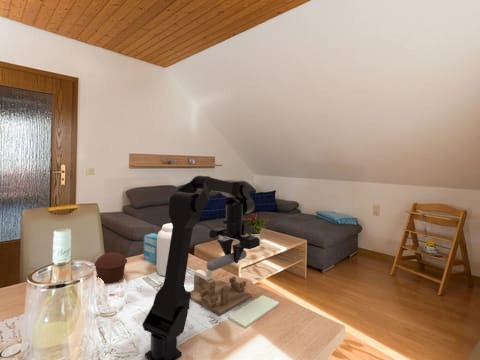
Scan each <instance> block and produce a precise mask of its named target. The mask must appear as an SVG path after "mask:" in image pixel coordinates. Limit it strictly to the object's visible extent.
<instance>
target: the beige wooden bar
mask: <svg viewBox="0 0 480 360" xmlns="http://www.w3.org/2000/svg"><path fill="white" fill-rule="evenodd" d="M194 275H197V276H199V277H201V278H203V279H205V280H210V279H213V271H209V270H208V269H207V268H206V269H205V271H204V270H201V269H197V270H194Z"/></svg>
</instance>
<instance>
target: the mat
mask: <svg viewBox="0 0 480 360" xmlns="http://www.w3.org/2000/svg"><path fill="white" fill-rule="evenodd" d="M279 305H280V302H279V301H277V300H274V299H272V298H270V297H268V296H265V295H264V294H263V295H261V296H259V297H258V298H255V299H254V300H252V301H250V302H249V303H248V304H246V305H244V306H243V307H241V308H239V309H238V310H235V311H234V312H232V313H231V314H229V315H228V316H227V319H228V320H230V321H232V322H233V323H235V324H237V325H239V327H242V328H243V329H247V328H248V327H250V325H252V324H254V323H255V322H257V321H258V320H259V319H261V318H262V317H263V316H265V315H267V314H268V313H269V312H271V311H273V309H275V308H277V307H278V306H279Z"/></svg>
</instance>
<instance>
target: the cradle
mask: <svg viewBox="0 0 480 360" xmlns="http://www.w3.org/2000/svg"><path fill="white" fill-rule="evenodd" d="M193 276H194V277H193V289H191V290H190V291H189V292H190V293H191V298H190V301H193V302H194V303H196V304H197V305H200V306H201V307H202V308H205V309H206V310H207V311H209V312H211V313H212V314H215V315H217V316H218V317H221V316H223V315H225V314H227V313H228V312H229V311H231V310H233V309H234V308H237V307H238V306H240V305H241V304H243V303H245V302H246V301H248V300H250V299H252V298H253V294H251V293H250V292H247V291H245V287H247V281H245V280H243V281H241V282H238V281H236V280H237V278H236V276H232V277H229V280H228V281H229V282H225V281H223V280H221V279H219V278H218V279H216V280H215V279H213V278H212V279H210V280H205V279H203V278H201V277H199V276H197V275H195V274H194V275H193Z"/></svg>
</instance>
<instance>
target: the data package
mask: <svg viewBox="0 0 480 360" xmlns="http://www.w3.org/2000/svg"><path fill="white" fill-rule="evenodd" d="M157 235H158V233H153V232H152V233H149V234H145V235H144V236H143V259H144V260H145V261H146V262H150V263H153V264H156V265H157Z"/></svg>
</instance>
